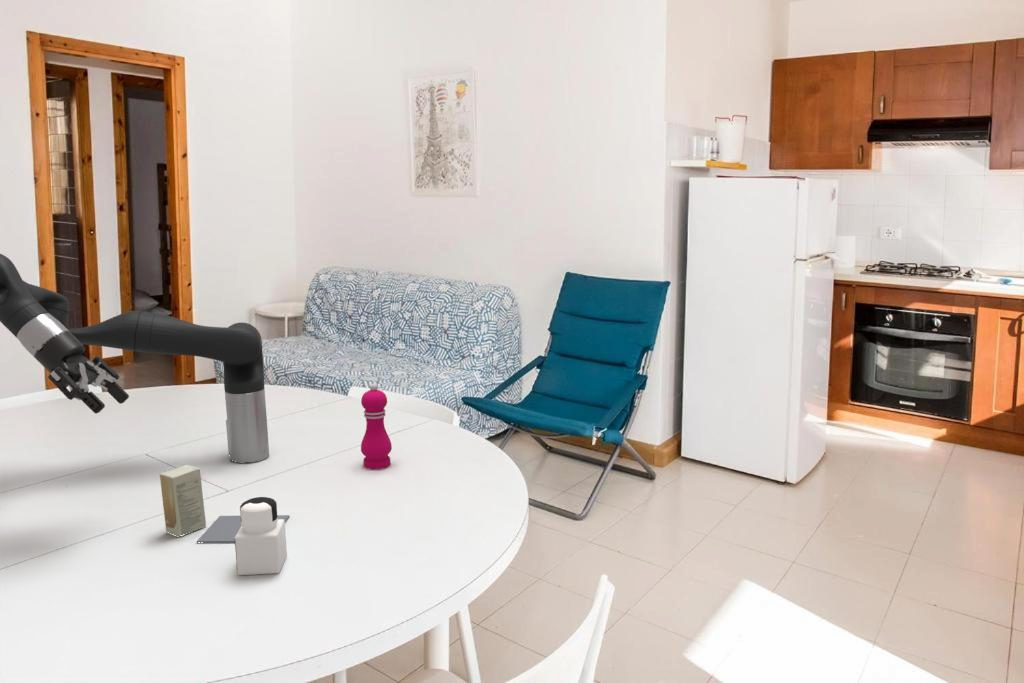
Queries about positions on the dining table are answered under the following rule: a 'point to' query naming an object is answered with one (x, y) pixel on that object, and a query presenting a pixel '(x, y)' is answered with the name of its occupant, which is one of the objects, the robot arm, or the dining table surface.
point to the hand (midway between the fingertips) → (113, 405)
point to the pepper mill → (375, 430)
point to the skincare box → (183, 500)
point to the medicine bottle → (260, 538)
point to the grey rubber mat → (226, 529)
